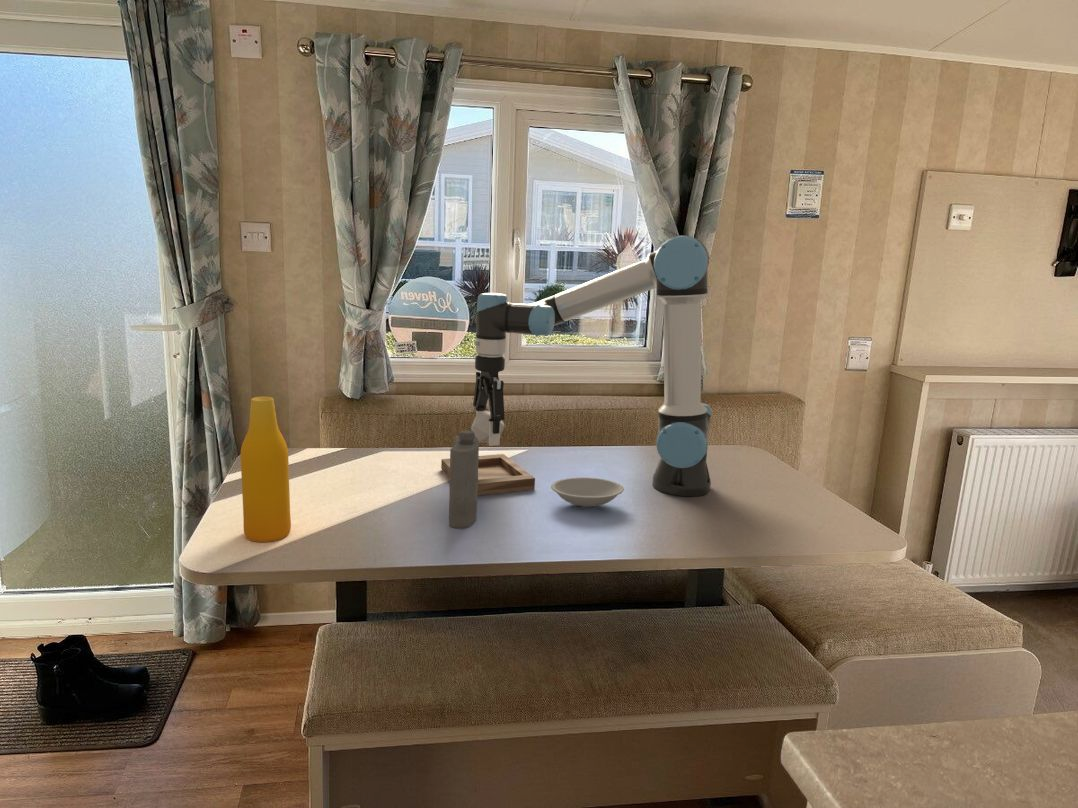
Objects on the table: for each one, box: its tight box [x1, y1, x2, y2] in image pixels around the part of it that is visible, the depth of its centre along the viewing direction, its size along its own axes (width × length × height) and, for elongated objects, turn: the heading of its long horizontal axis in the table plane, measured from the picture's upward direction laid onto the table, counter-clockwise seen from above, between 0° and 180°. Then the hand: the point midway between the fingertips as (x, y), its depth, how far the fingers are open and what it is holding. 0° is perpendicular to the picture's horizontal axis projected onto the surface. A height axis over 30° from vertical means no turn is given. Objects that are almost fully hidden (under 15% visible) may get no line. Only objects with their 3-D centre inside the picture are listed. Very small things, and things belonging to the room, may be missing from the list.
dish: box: [550, 476, 625, 509], centre depth 178 cm, size 18×14×5 cm
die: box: [470, 410, 506, 444], centre depth 192 cm, size 8×9×10 cm
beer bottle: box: [239, 396, 292, 543], centre depth 151 cm, size 9×9×29 cm
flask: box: [448, 429, 480, 529], centre depth 167 cm, size 15×6×20 cm, turn 1°
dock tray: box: [440, 453, 536, 496], centre depth 195 cm, size 22×18×3 cm
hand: (487, 439), depth 193 cm, fingers closed on die, 9 cm apart
